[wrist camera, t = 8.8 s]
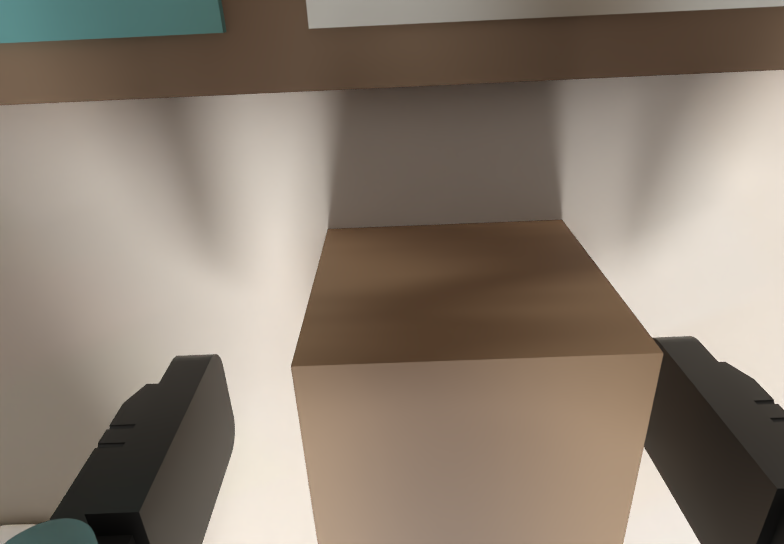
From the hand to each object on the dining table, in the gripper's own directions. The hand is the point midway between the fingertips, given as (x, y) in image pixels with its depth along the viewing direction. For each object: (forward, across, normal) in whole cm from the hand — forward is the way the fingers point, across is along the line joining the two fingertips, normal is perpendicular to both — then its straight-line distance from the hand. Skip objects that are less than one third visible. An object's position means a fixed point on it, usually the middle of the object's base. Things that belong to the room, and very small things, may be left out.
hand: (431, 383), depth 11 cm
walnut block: (+3, 0, 0) cm, 3 cm away
